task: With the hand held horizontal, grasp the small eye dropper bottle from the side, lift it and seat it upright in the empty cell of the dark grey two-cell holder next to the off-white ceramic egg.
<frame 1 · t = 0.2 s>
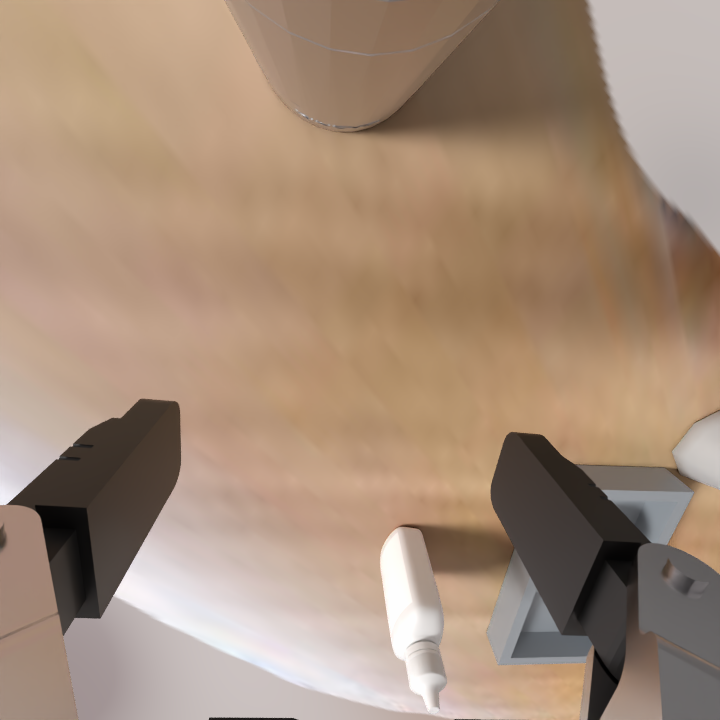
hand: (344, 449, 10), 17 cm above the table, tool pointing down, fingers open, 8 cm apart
flask: (711, 442, 34), on the table
holder: (567, 557, 38), on the table
eye dropper bottle: (400, 546, 36), on the table
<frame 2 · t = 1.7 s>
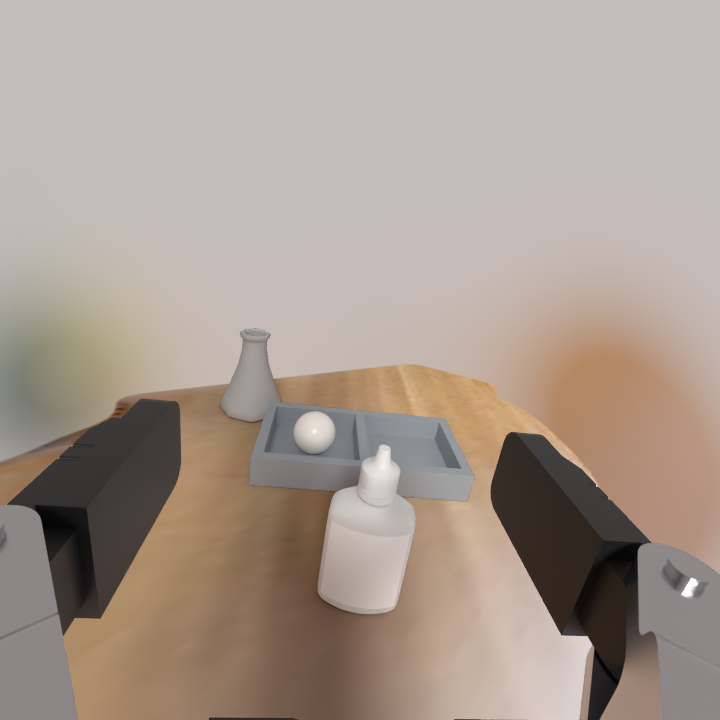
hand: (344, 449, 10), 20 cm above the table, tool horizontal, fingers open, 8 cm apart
flask: (251, 409, 50), on the table
holder: (358, 459, 43), on the table
eye dropper bottle: (356, 594, 28), on the table
ceramic egg: (312, 450, 43), point 1 cm above the table, touching holder
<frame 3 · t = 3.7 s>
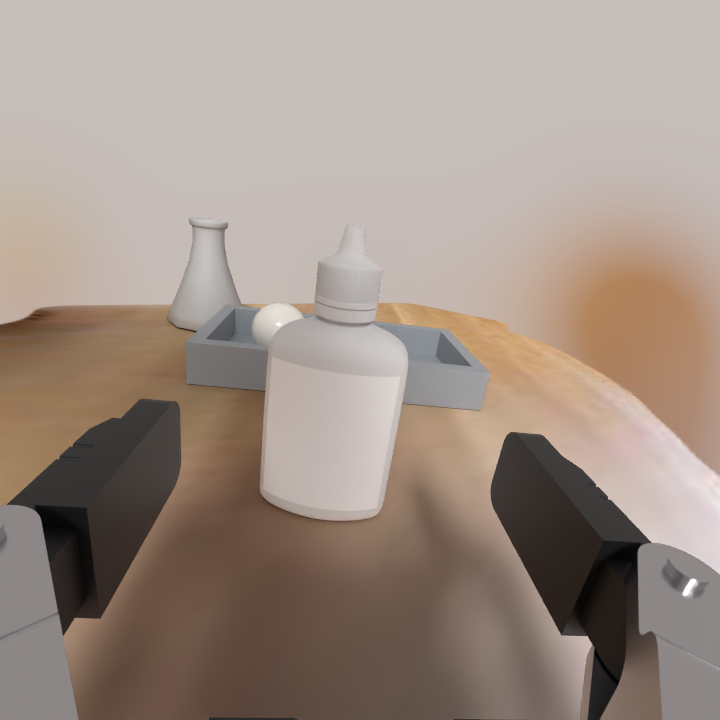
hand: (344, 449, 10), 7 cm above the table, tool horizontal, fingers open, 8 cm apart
flask: (208, 325, 41), on the table
holder: (337, 368, 34), on the table
eye dropper bottle: (321, 499, 19), on the table
ceramic egg: (277, 355, 33), point 1 cm above the table, touching holder
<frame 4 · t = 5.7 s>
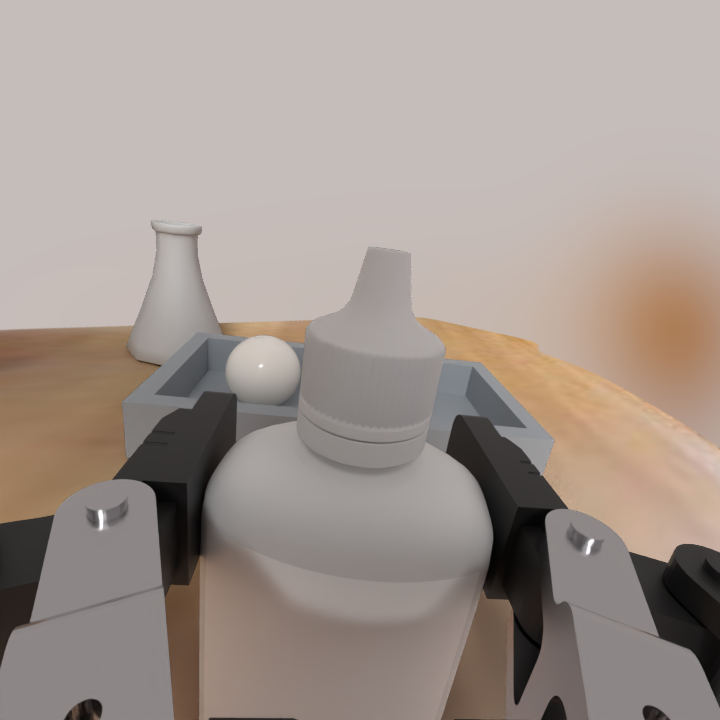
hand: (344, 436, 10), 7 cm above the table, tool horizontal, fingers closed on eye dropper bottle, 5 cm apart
flask: (179, 354, 33), on the table
holder: (341, 420, 26), on the table
ceramic egg: (261, 404, 25), point 1 cm above the table, touching holder
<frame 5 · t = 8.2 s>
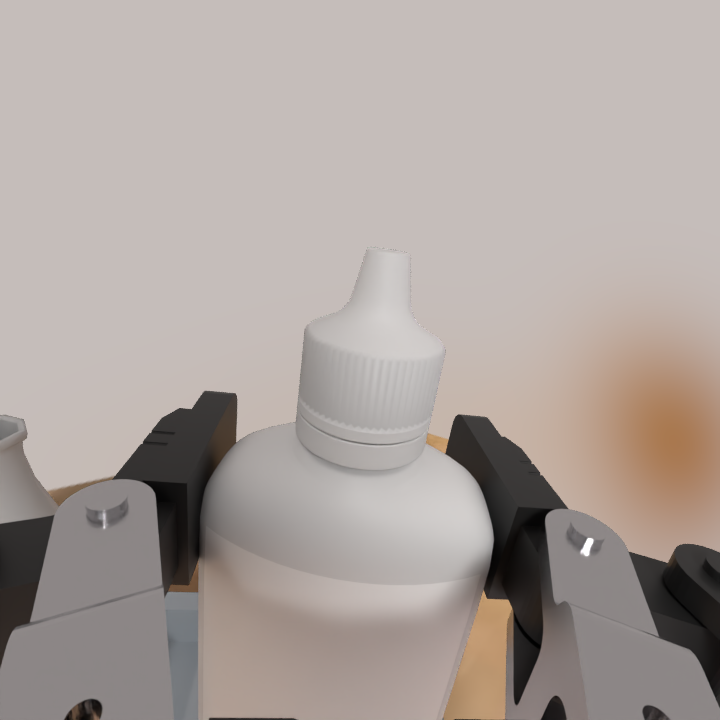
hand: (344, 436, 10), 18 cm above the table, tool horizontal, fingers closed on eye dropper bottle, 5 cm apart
flask: (19, 575, 25), on the table
when the fingers open (9 cm above the table, at t = 10.7 s): eye dropper bottle drops 1 cm, resting on holder.
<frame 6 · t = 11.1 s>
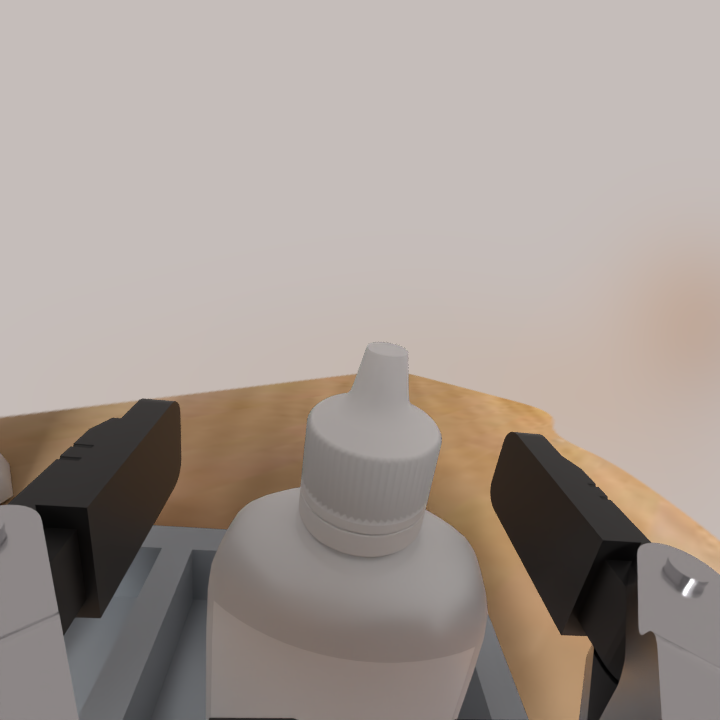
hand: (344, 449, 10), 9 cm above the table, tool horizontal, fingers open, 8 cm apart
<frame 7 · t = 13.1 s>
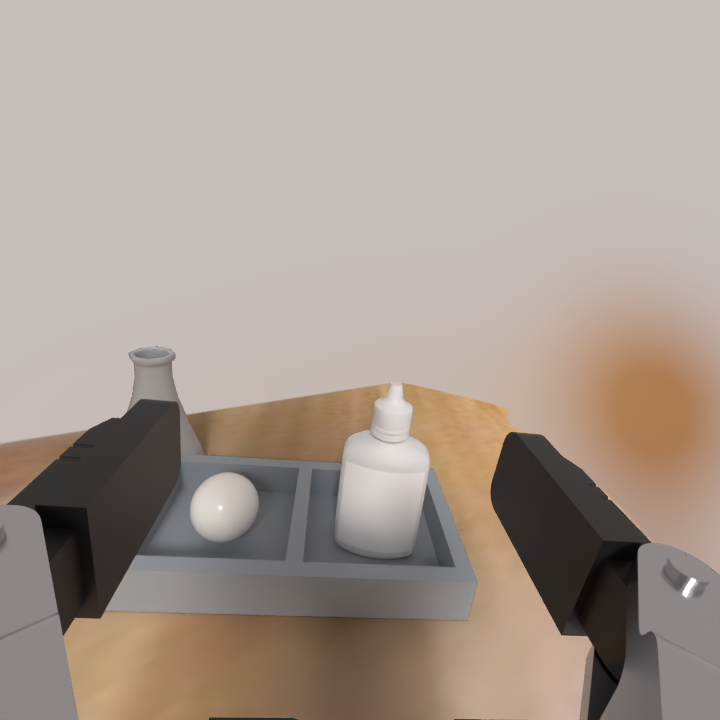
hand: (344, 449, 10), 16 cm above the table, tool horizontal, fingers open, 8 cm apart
flask: (159, 461, 36), on the table
holder: (298, 542, 28), on the table
eye dropper bottle: (373, 543, 28), resting on holder
ceramic egg: (225, 532, 28), point 1 cm above the table, touching holder
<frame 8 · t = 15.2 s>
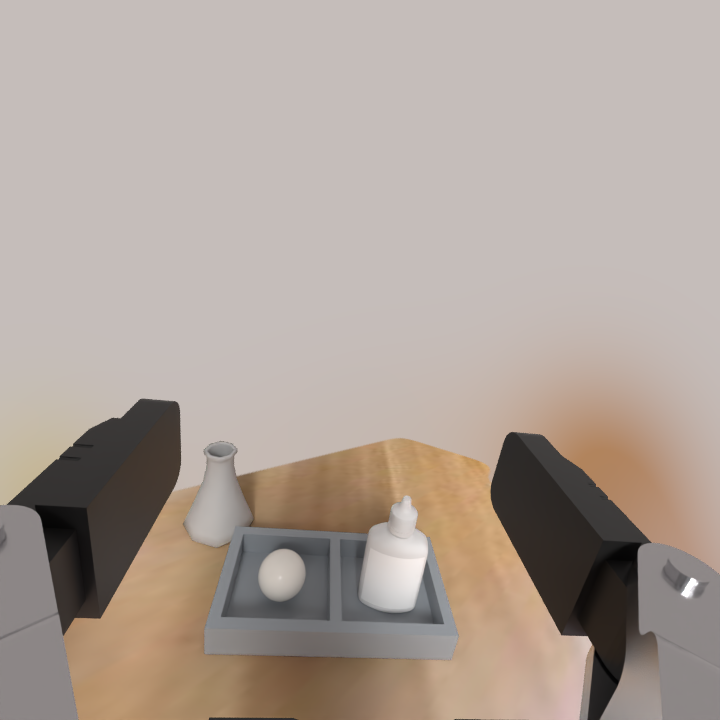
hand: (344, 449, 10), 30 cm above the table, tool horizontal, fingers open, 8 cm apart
flask: (219, 524, 46), on the table
holder: (331, 598, 39), on the table
eye dropper bottle: (385, 598, 40), resting on holder
ceramic egg: (280, 591, 39), point 1 cm above the table, touching holder
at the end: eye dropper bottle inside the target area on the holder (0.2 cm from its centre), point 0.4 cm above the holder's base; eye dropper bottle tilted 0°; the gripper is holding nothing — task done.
